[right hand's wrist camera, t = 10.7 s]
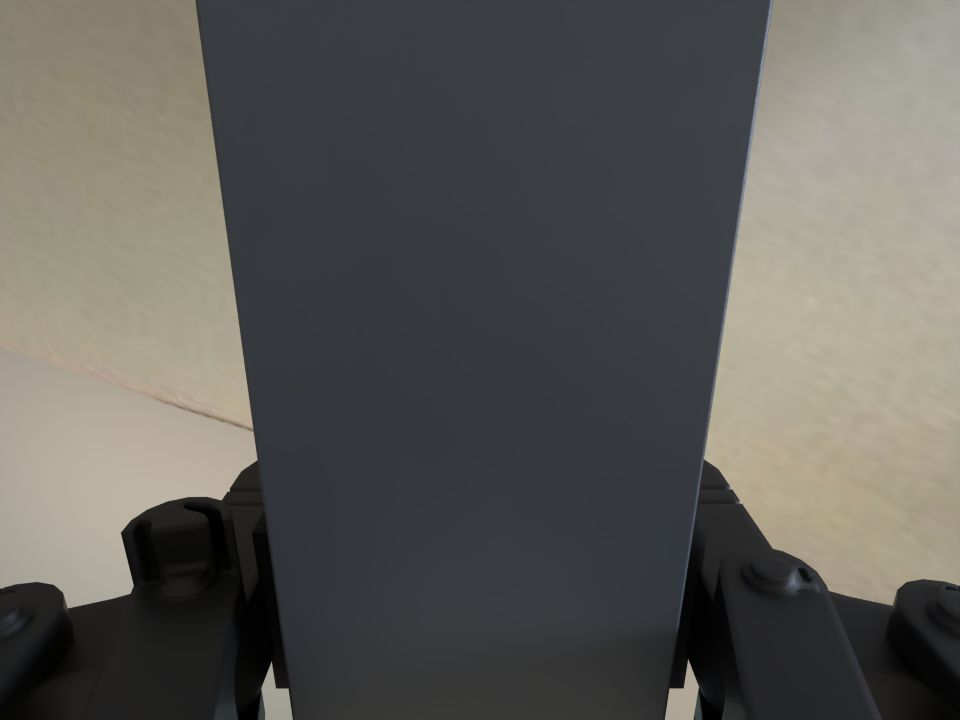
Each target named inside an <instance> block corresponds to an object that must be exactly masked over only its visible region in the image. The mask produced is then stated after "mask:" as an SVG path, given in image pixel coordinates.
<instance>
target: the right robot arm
mask: <svg viewBox="0 0 960 720" xmlns="http://www.w3.org/2000/svg"><path fill="white" fill-rule="evenodd" d="M121 535H122V539H123V543H124V547H125V551H126V555H127V560H128V564H129V568H130V571H131V576H132V580H133V584H134V587H133V589H132V592H131V594H128V595H125V596H122V597H118V598H114V599H110V600H105V601H101V602H96V603H92V604H87V605H82V606H78V607H73V608H67V605H66V601H65V598H64V595H63V592H61V591H60V590H59V589H58V588H57V587H56V586H54V585H51V584H45V583H40V582H33V583H25V584H16V585H12V586H9V587H5V588H3V589H0V720H265V709H264V702H263V696H262V690H261V687H262V685H263V682H264V680H265V677H266V674H267V672H268V669H269V667H270V664H271V661H272V666H273V672H274V678H275V684H276V688H289V687H288V680H287V673H286V665H285V658H284V651H283V643H282V636H281V628H280V621H279V614H278V606H277V599H276V592H275V584H274V577H273V569H272V562H271V555H270V547H269V540H268V533H267V525H266V518H265V510H264V503H263V496H262V488H261V481H260V474H259V466H258V460H257V461H256V462H254V463H253V464H251V465H250V466H249V467H247V468H246V469H244V470H243V471H241V473H240V474H239V476H238V477H237V479H236V480H235V482H234V483H233V485H232V486H231V488H230V492H227V494H226V495H225V496H224V498H223V499H222V501H221V500H217V499H213V498H209V497H187V498H183V499H178V500H173V501H168V502H165V503H163V504H160V505H158V506H155V507H153V508H151V509H148V510H146V511H145V512H143V513H142V514H140V515H139V516H137V517H136V518H134V519H133V520H131V521H130V522H129V524H128V525H127V526H126V527H125V529H124V530H123V531H122V532H121ZM688 659H689V662H690V664H691V667H692V670H693V672H694V675H695V677H696V680H697V683H698V685H699V690H698V696H697V702H696V708H695V714H694V720H960V586H957V585H955V584H951V583H947V582H943V581H934V580H925V579H922V580H916V581H910V582H906V583H905V584H904V585H903V586H902V587H900V588H899V589H898V590H897V593H896V596H895V600H894V603H893V606H890V605H886V604H881V603H876V602H872V601H867V600H862V599H858V598H853V597H849V596H845V595H841V594H837V593H834V592H830V591H828V588H827V586H826V584H825V583H824V581H823V580H822V578H821V577H820V576H819V574H818V573H817V572H816V571H815V570H814V569H813V568H811V567H810V566H809V565H807V564H806V563H805V562H803V561H802V560H800V559H798V558H796V557H794V556H792V555H789V554H787V553H785V552H783V551H779V550H775V549H772V547H771V546H770V544H769V543H768V541H767V540H766V538H765V537H764V535H763V534H762V532H761V531H760V529H759V528H758V527H757V525H756V524H755V522H754V521H753V519H752V518H751V516H750V515H749V513H748V512H747V510H746V509H745V507H744V506H743V505H742V504H740V500H739V499H738V497H737V496H736V494H735V493H734V491H733V490H730V485H729V484H728V483H727V481H726V480H725V478H724V477H723V475H722V474H721V472H720V471H719V469H717V468H716V467H714V466H713V465H711V464H710V463H709V462H707V461H706V460H704V462H703V468H702V475H701V481H700V488H699V495H698V501H697V508H696V515H695V521H694V528H693V535H692V541H691V548H690V555H689V561H688V568H687V574H686V581H685V588H684V594H683V601H682V608H681V614H680V621H679V628H678V634H677V641H676V648H675V654H674V661H673V667H672V674H671V681H670V687H669V688H684V682H685V676H686V670H687V663H688Z"/></svg>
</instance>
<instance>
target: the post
mask: <svg viewBox="0 0 960 720" xmlns="http://www.w3.org/2000/svg"><path fill="white" fill-rule="evenodd" d="M195 2H196V9H197V16H198V24H199V31H200V38H201V46H202V53H203V61H204V68H205V75H206V83H207V90H208V97H209V105H210V112H211V120H212V127H213V134H214V142H215V149H216V156H217V164H218V171H219V179H220V186H221V193H222V201H223V208H224V215H225V223H226V230H227V238H228V245H229V252H230V260H231V267H232V274H233V282H234V289H235V297H236V304H237V311H238V319H239V326H240V333H241V341H242V348H243V356H244V363H245V370H246V378H247V385H248V392H249V400H250V407H251V415H252V422H253V429H254V437H255V444H256V451H257V459H258V466H259V474H260V481H261V488H262V496H263V503H264V510H265V518H266V525H267V533H268V540H269V547H270V555H271V562H272V569H273V577H274V584H275V592H276V599H277V606H278V614H279V621H280V628H281V636H282V643H283V651H284V658H285V665H286V673H287V680H288V687H289V695H290V702H291V709H292V717H293V720H665V714H666V707H667V701H668V694H669V687H670V681H671V674H672V667H673V661H674V654H675V648H676V641H677V634H678V628H679V621H680V614H681V608H682V601H683V594H684V588H685V581H686V574H687V568H688V561H689V555H690V548H691V541H692V535H693V528H694V521H695V515H696V508H697V501H698V495H699V488H700V481H701V475H702V468H703V462H704V455H705V448H706V442H707V435H708V428H709V422H710V415H711V408H712V402H713V395H714V388H715V382H716V375H717V369H718V362H719V355H720V349H721V342H722V335H723V329H724V322H725V315H726V309H727V302H728V295H729V289H730V282H731V276H732V269H733V262H734V256H735V249H736V242H737V236H738V229H739V222H740V216H741V209H742V202H743V196H744V189H745V183H746V176H747V169H748V163H749V156H750V149H751V143H752V136H753V129H754V123H755V116H756V109H757V103H758V96H759V90H760V83H761V76H762V70H763V63H764V56H765V50H766V43H767V36H768V30H769V23H770V17H771V10H772V3H773V0H195Z"/></svg>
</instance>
